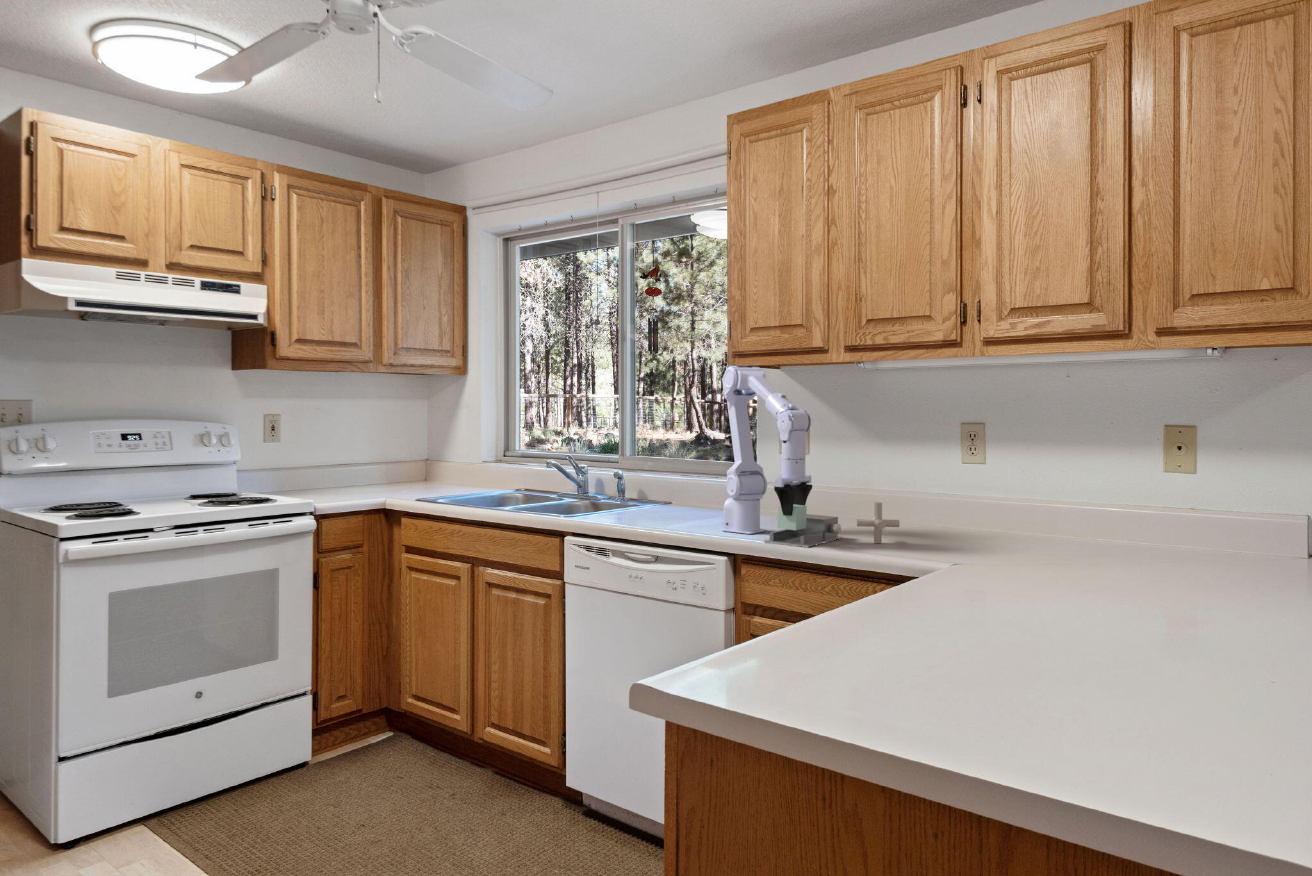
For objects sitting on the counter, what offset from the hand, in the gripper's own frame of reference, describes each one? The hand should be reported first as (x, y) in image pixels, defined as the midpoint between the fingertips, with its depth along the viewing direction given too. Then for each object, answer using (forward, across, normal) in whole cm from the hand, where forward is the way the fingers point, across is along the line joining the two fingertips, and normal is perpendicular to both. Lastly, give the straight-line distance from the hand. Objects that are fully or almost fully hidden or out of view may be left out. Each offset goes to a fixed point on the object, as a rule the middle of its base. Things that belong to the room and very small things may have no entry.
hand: (793, 514), depth 203 cm
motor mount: (+7, +6, 0) cm, 9 cm away
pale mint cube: (+3, 0, 0) cm, 3 cm away
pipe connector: (+7, +14, -16) cm, 22 cm away
